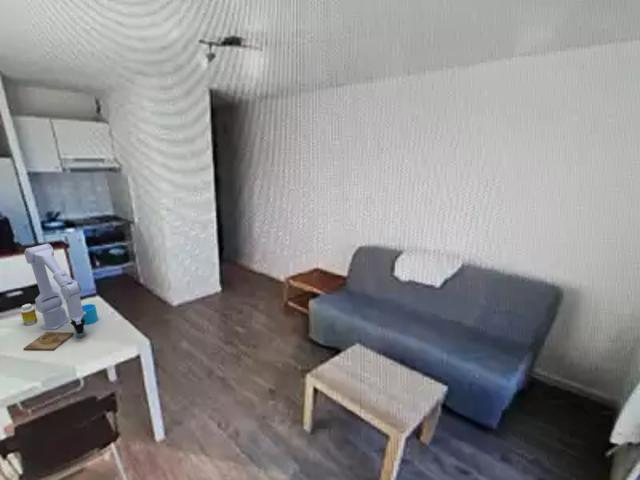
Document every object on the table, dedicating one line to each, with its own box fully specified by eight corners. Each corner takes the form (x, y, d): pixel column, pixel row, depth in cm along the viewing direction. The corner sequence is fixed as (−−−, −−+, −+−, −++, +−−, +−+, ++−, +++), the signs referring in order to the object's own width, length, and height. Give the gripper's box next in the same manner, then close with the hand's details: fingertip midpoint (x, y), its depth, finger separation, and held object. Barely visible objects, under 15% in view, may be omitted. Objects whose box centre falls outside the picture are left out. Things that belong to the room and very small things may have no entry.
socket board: (46, 333, 177) (46, 331, 177) (74, 334, 177) (73, 332, 176) (23, 350, 164) (23, 348, 163) (53, 350, 163) (53, 349, 163)
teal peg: (79, 333, 178) (76, 320, 176) (87, 333, 178) (84, 321, 176) (74, 337, 174) (71, 325, 172) (82, 337, 174) (79, 325, 172)
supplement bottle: (37, 323, 186) (33, 305, 183) (24, 326, 183) (19, 309, 180) (37, 319, 190) (33, 301, 187) (24, 322, 187) (19, 305, 184)
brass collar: (47, 336, 173) (47, 332, 173) (61, 336, 173) (60, 332, 172) (37, 344, 167) (36, 340, 166) (51, 344, 167) (50, 340, 166)
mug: (99, 321, 189) (97, 307, 186) (81, 327, 183) (78, 313, 181) (94, 313, 197) (91, 300, 195) (77, 318, 192) (74, 304, 189)
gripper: (86, 309, 168) (91, 334, 172) (82, 298, 179) (87, 322, 183) (68, 314, 164) (74, 339, 168) (65, 302, 175) (70, 327, 179)
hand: (79, 331), depth 175 cm, fingers closed on teal peg, 4 cm apart
